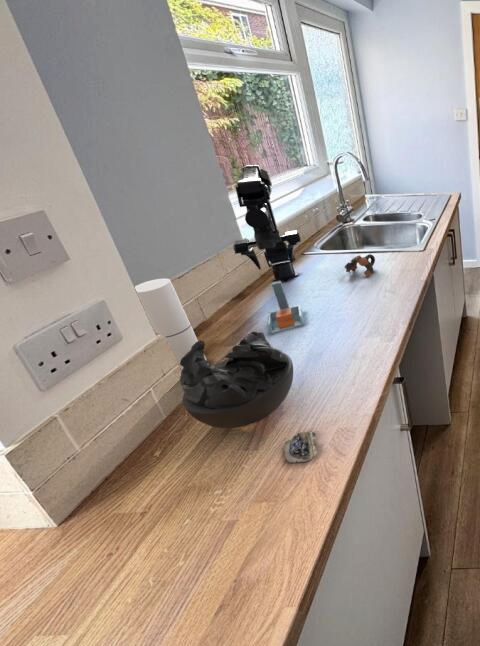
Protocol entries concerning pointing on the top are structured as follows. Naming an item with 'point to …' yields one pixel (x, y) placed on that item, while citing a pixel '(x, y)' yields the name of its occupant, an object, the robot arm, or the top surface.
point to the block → (285, 318)
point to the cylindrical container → (167, 315)
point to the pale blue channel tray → (283, 305)
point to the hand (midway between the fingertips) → (276, 265)
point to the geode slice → (300, 447)
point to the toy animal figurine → (363, 262)
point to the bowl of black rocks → (236, 383)
